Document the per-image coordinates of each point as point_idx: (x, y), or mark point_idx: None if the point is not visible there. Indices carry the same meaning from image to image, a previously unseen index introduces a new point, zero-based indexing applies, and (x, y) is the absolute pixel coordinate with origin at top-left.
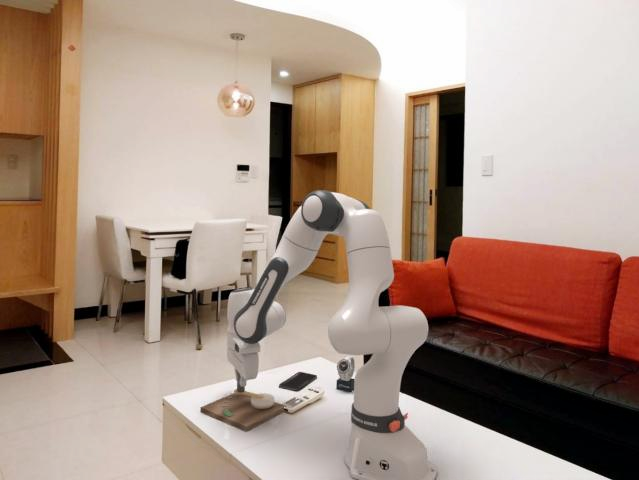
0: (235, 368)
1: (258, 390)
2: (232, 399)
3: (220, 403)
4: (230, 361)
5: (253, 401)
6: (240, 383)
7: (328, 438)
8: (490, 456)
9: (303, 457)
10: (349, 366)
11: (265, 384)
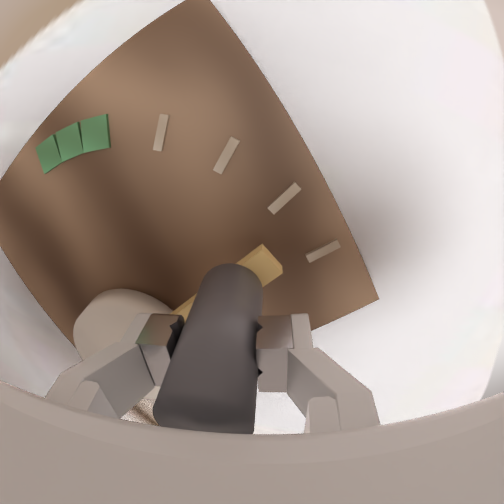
0: (192, 434)
1: (367, 361)
2: (254, 210)
3: (214, 115)
4: (487, 424)
5: (89, 309)
6: (139, 325)
7: (5, 372)
8: None
9: None
10: None
11: (403, 389)
